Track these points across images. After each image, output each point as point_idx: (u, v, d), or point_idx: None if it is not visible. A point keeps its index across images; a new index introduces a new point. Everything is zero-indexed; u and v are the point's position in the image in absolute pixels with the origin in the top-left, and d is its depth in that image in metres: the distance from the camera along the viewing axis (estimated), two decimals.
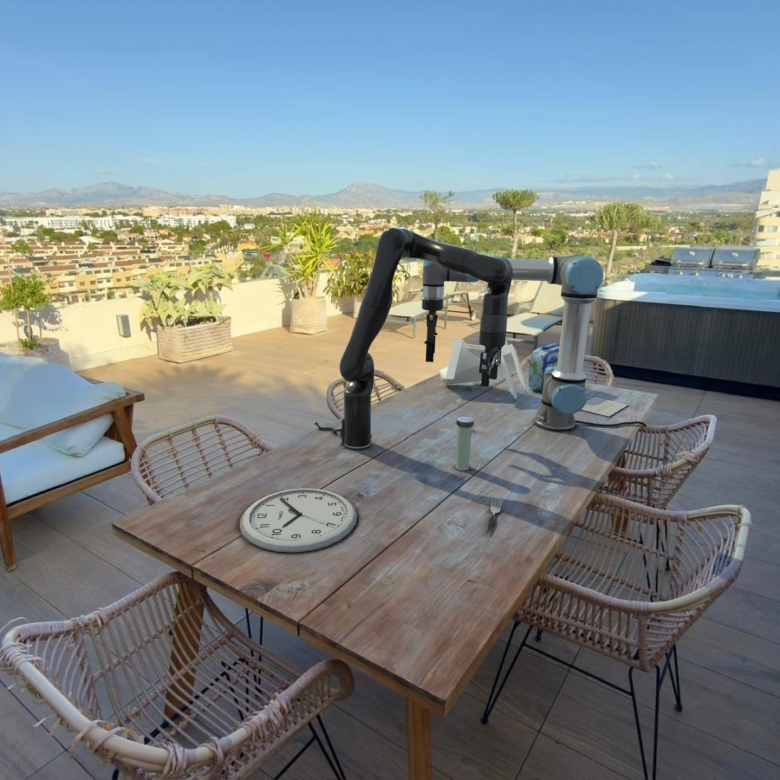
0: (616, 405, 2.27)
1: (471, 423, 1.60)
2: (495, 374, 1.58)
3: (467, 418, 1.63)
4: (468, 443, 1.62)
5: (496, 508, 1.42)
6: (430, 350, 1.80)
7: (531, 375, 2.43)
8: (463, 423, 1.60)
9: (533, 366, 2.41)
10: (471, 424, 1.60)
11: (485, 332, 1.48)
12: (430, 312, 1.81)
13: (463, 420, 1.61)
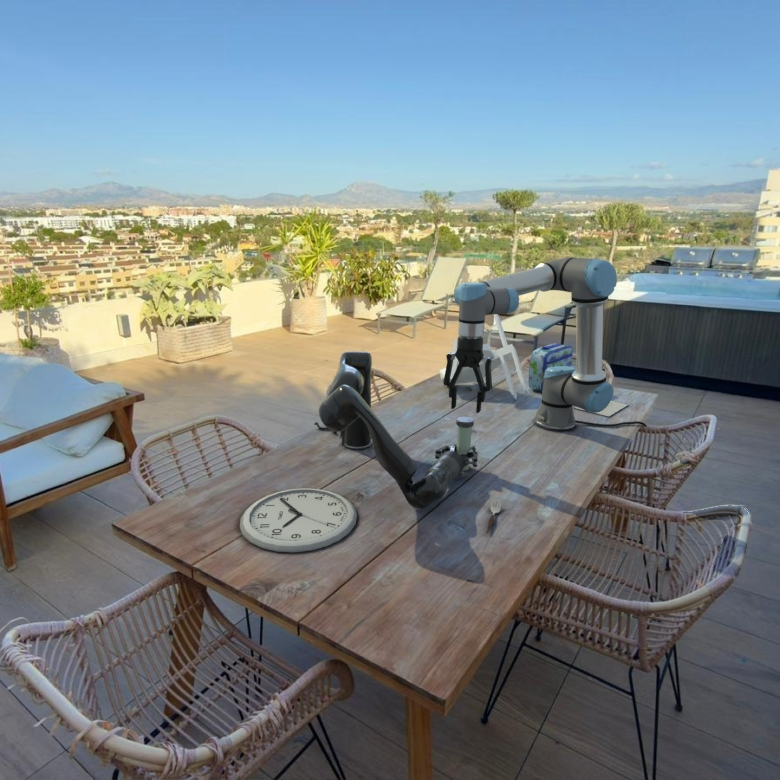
0: (616, 405, 2.27)
1: (471, 423, 1.60)
2: None
3: (467, 418, 1.63)
4: (468, 443, 1.62)
5: (496, 508, 1.42)
6: None
7: (531, 375, 2.43)
8: (463, 423, 1.60)
9: (533, 366, 2.41)
10: (471, 424, 1.60)
11: None
12: None
13: (463, 420, 1.61)
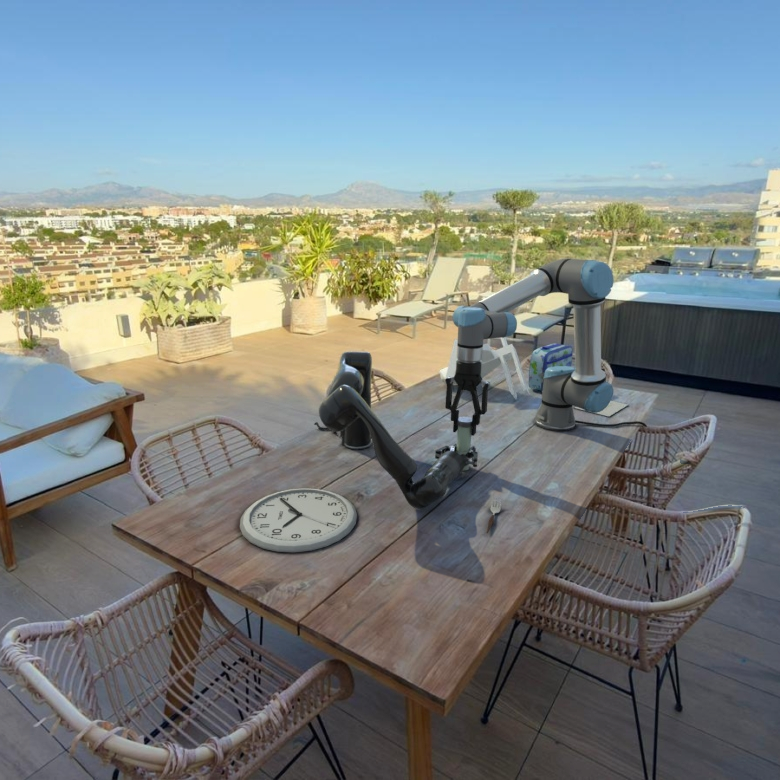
0: (616, 405, 2.27)
1: (471, 423, 1.60)
2: None
3: (467, 418, 1.63)
4: (468, 443, 1.62)
5: (496, 508, 1.42)
6: None
7: (531, 375, 2.43)
8: (463, 423, 1.60)
9: (533, 366, 2.41)
10: (471, 424, 1.60)
11: None
12: None
13: (463, 420, 1.61)
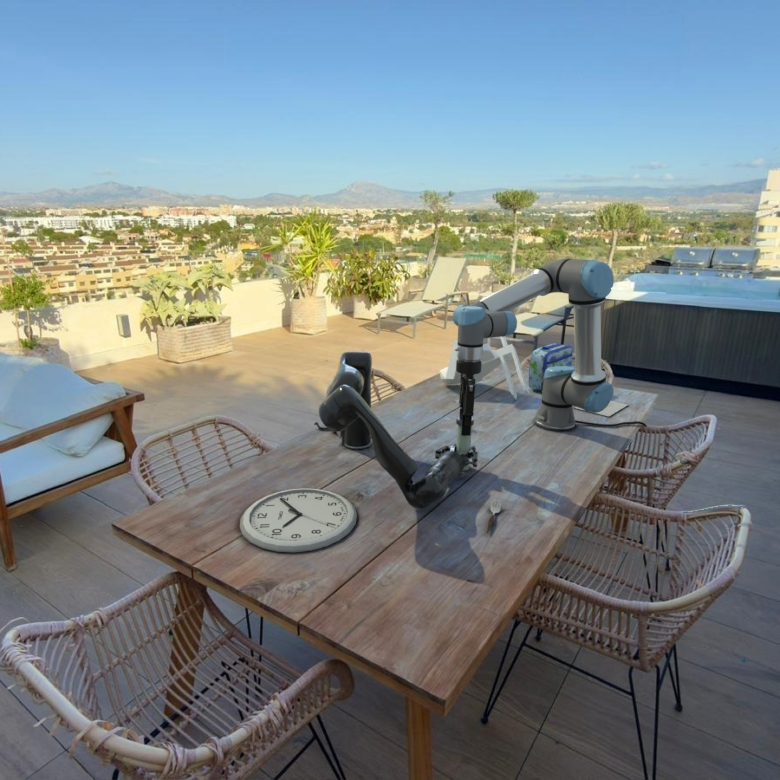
0: (616, 405, 2.27)
1: None
2: None
3: (461, 418, 1.62)
4: (468, 443, 1.62)
5: (496, 508, 1.42)
6: (468, 423, 1.57)
7: (531, 375, 2.43)
8: None
9: (533, 366, 2.41)
10: None
11: None
12: (468, 376, 1.54)
13: None
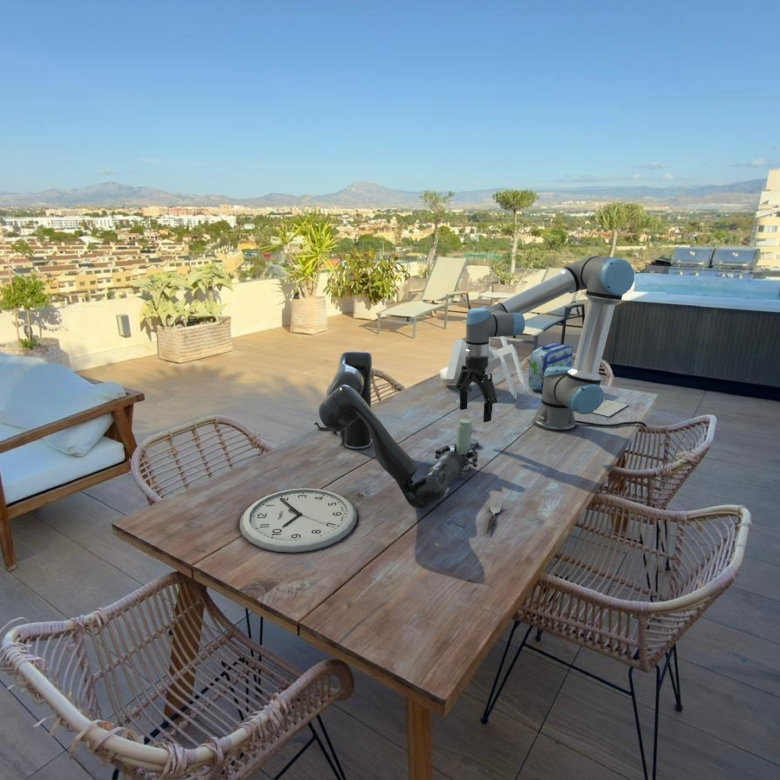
0: (616, 405, 2.27)
1: None
2: None
3: None
4: (468, 443, 1.62)
5: (496, 508, 1.42)
6: (491, 410, 1.72)
7: (531, 375, 2.43)
8: None
9: (533, 366, 2.41)
10: None
11: None
12: (482, 370, 1.72)
13: (473, 440, 1.84)
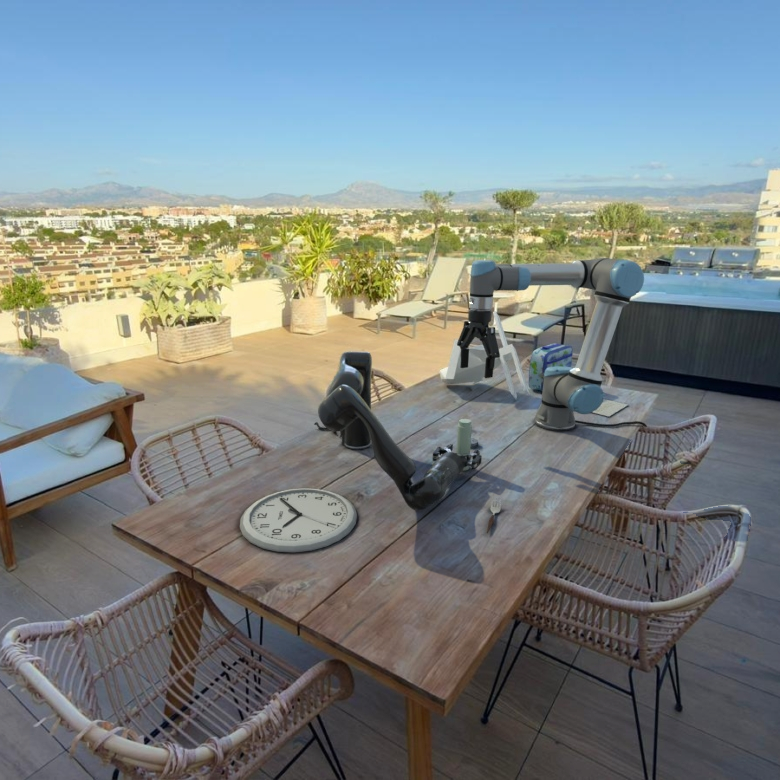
0: (616, 405, 2.27)
1: None
2: None
3: None
4: (468, 443, 1.62)
5: (496, 508, 1.42)
6: (493, 365, 1.68)
7: (531, 375, 2.43)
8: None
9: (533, 366, 2.41)
10: None
11: None
12: (485, 324, 1.68)
13: (473, 440, 1.84)
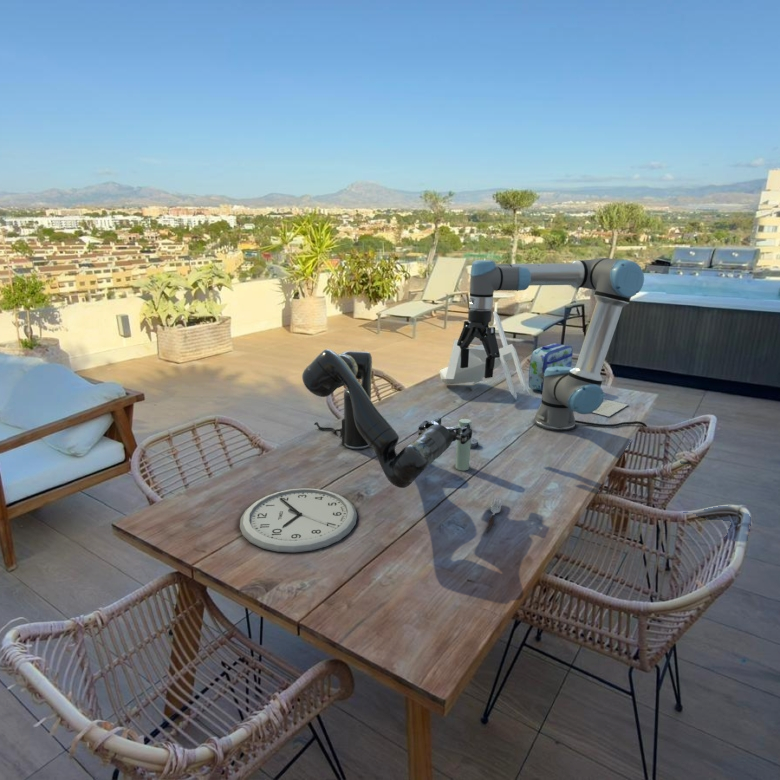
0: (616, 405, 2.27)
1: None
2: None
3: None
4: (468, 443, 1.62)
5: (496, 508, 1.42)
6: (493, 365, 1.68)
7: (531, 375, 2.43)
8: None
9: (533, 366, 2.41)
10: None
11: None
12: (485, 324, 1.68)
13: (473, 440, 1.84)
